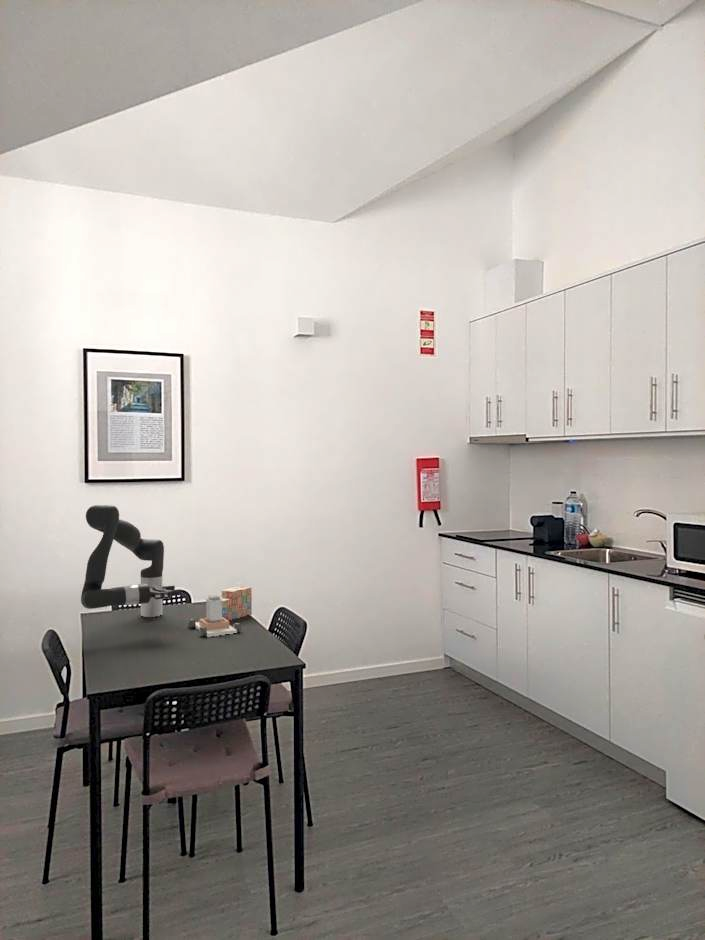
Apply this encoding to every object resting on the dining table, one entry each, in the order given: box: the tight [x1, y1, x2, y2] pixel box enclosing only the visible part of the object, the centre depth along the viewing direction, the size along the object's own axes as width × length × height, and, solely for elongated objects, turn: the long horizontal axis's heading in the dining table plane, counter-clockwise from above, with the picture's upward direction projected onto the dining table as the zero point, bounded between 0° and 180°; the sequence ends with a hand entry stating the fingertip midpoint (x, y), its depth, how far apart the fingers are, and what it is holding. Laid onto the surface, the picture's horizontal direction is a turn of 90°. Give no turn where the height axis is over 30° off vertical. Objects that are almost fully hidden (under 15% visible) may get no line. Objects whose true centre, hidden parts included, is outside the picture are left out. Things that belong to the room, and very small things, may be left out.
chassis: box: [187, 615, 242, 638], centre depth 300 cm, size 20×16×4 cm
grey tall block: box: [205, 595, 222, 623], centre depth 300 cm, size 5×5×12 cm
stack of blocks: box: [220, 585, 253, 621], centre depth 321 cm, size 21×6×12 cm, turn 145°
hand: (177, 590), depth 296 cm, fingers open, 8 cm apart
